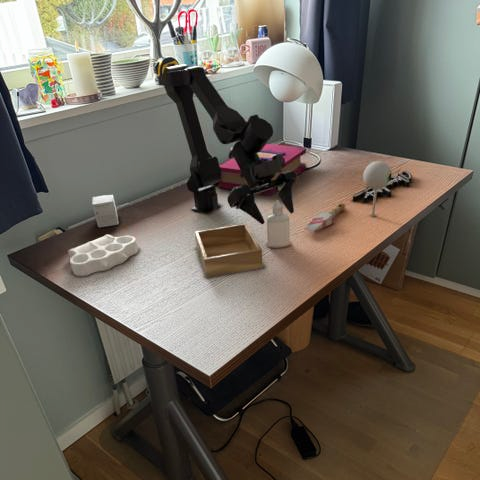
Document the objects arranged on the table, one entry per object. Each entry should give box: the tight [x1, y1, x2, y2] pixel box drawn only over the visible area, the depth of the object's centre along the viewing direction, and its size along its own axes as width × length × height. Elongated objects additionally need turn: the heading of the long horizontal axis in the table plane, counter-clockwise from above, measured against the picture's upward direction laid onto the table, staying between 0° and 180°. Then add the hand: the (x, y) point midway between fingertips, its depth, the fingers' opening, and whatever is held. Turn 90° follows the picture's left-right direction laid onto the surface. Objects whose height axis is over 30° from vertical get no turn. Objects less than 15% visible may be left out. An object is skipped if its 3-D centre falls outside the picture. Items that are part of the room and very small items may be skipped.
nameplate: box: [352, 170, 413, 204], centre depth 145 cm, size 28×2×10 cm
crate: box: [194, 222, 264, 278], centre depth 115 cm, size 16×14×5 cm
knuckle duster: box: [67, 234, 139, 277], centre depth 120 cm, size 3×18×15 cm
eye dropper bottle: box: [266, 199, 291, 249], centre depth 117 cm, size 4×6×12 cm
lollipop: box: [362, 160, 392, 217], centre depth 126 cm, size 7×7×15 cm
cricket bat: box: [303, 202, 346, 232], centre depth 129 cm, size 4×3×20 cm
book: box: [218, 143, 307, 196], centre depth 160 cm, size 21×28×8 cm
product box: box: [91, 194, 119, 229], centre depth 137 cm, size 6×6×7 cm
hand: (278, 218), depth 116 cm, fingers open, 9 cm apart
